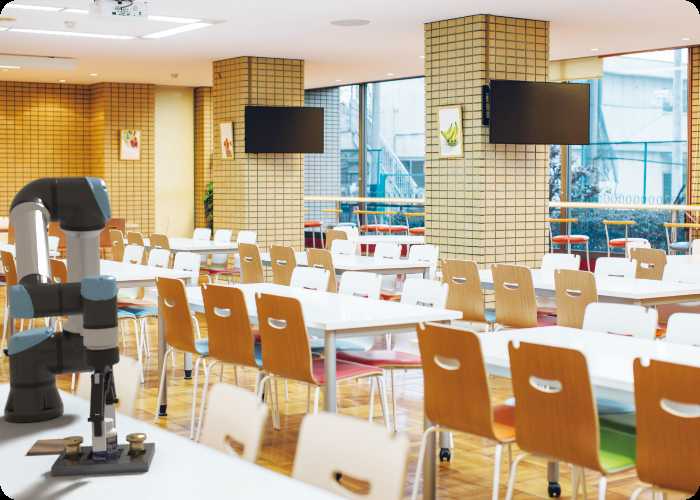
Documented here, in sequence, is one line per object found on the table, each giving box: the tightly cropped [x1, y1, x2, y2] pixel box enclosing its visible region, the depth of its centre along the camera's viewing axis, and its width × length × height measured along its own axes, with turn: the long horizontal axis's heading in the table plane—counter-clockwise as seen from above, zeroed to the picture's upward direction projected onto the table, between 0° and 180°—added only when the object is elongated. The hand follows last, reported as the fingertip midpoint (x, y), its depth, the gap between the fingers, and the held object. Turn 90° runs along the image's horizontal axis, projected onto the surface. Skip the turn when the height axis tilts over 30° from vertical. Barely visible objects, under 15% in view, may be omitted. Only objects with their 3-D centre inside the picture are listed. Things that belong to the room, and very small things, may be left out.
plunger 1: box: [62, 435, 85, 458], centre depth 184 cm, size 4×4×4 cm
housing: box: [50, 442, 156, 477], centre depth 185 cm, size 14×20×2 cm
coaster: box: [26, 438, 66, 456], centre depth 197 cm, size 10×10×1 cm
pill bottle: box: [91, 418, 119, 460], centre depth 185 cm, size 5×5×10 cm
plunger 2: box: [125, 432, 147, 455], centre depth 186 cm, size 4×4×4 cm
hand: (104, 441), depth 185 cm, fingers open, 13 cm apart
